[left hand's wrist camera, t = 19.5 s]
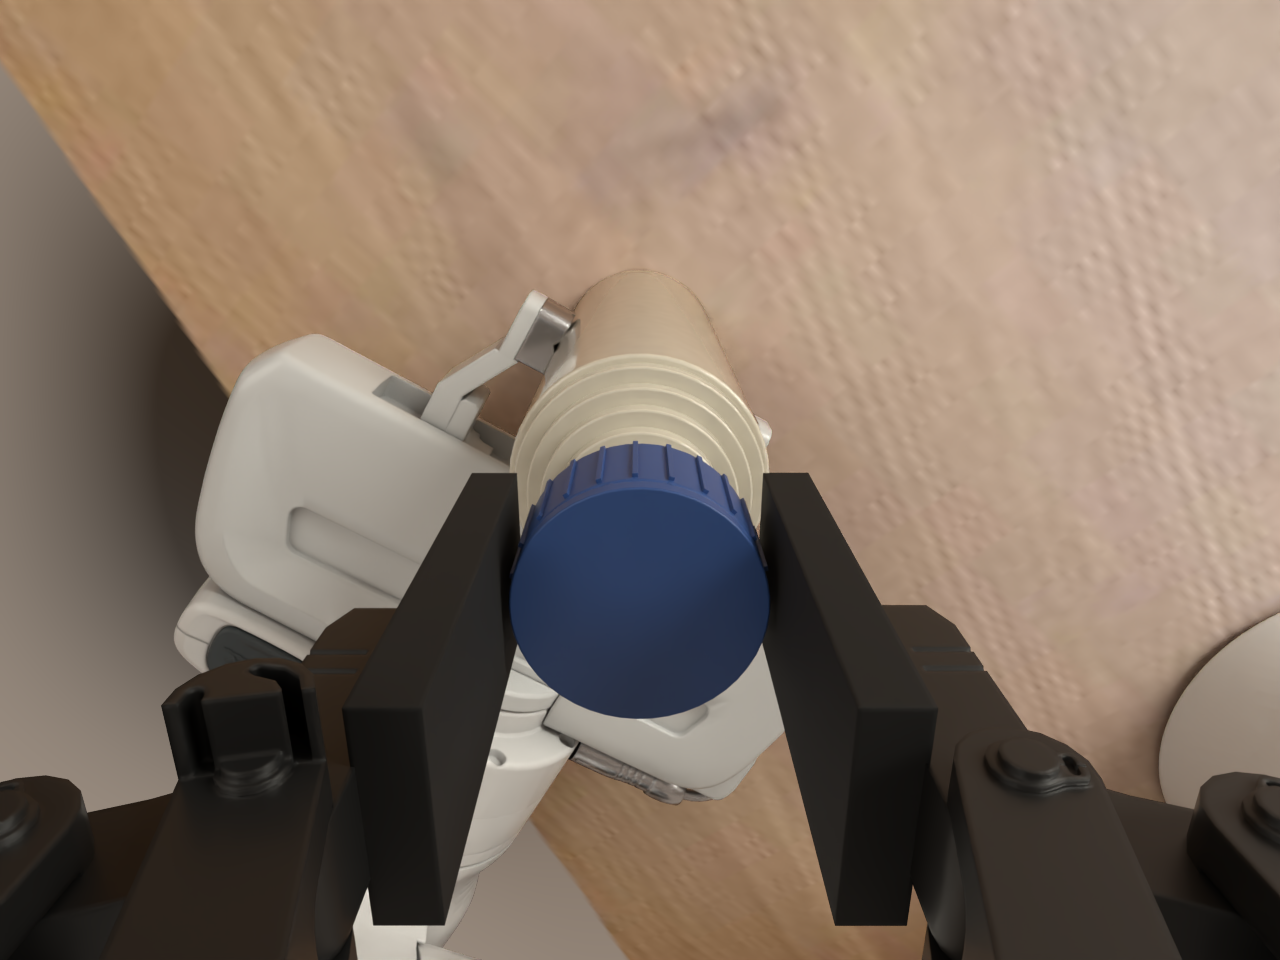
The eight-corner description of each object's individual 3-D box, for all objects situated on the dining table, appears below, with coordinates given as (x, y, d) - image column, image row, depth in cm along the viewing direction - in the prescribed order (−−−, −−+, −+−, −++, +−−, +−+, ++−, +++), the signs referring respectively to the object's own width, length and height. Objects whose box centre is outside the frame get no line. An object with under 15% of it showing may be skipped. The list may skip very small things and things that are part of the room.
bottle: (537, 324, 31) (391, 548, 13) (659, 239, 30) (691, 348, 12) (620, 440, 33) (596, 788, 14) (739, 363, 32) (878, 631, 13)
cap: (730, 413, 14) (746, 455, 12) (775, 624, 15) (796, 694, 13) (494, 468, 14) (470, 518, 12) (559, 670, 15) (546, 745, 13)
